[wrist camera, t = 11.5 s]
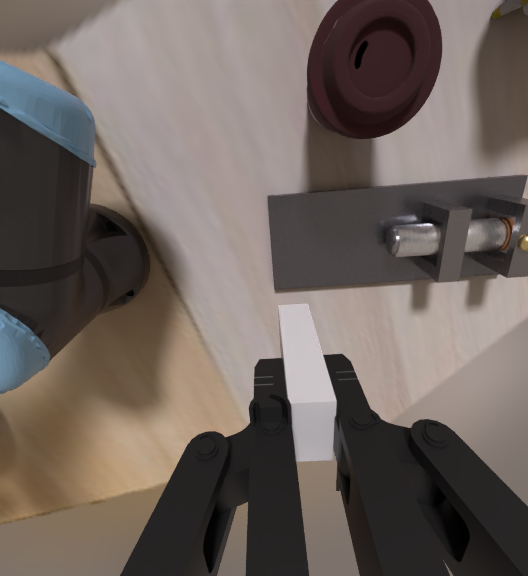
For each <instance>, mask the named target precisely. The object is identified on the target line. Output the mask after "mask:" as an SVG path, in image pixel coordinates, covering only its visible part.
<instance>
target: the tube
mask: <svg viewBox="0 0 528 576" xmlns="http://www.w3.org/2000/svg"><path fill="white" fill-rule="evenodd" d="M515 218H516V217H496V218H488V219H475V220H470V225H469V230H468V235H467V240H466V246H465V251H464V252H477V251H491V250H495V251H497V250H507V249H508V246H509V242H510V238H511V234H512V230H513V226H514V222H515ZM442 226H443V222H436V223H423V224H409V225H396V226H393V227H392V228H391V229H389V230H388V232H387V235H386V248H387V251H388V253H389V254H390V255H392V256H393V257H407V256H421V255H435V254H438V251H439V245H440V238H441V232H442Z"/></svg>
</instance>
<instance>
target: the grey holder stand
mask: <svg viewBox="0 0 528 576" xmlns="http://www.w3.org/2000/svg"><path fill="white" fill-rule="evenodd" d="M527 176H528V175H513V176H500V177H488V178H476V179H464V180H452V181H440V182H428V183H416V184H404V185H391V186H379V187H367V188H355V189H343V190H331V191H319V192H307V193H295V194H282V195H270V196H268V209H269V223H270V236H271V250H272V263H273V276H274V289H285V288H300V287H315V286H330V285H344V284H359V283H374V282H389V281H404V280H419V279H434V280H436V281H437V282H451V281H459V277H463V276H478V275H493V274H501V275H503V276H505V277H507V278H511V277H526V276H528V199H525V198H522V196H523V192H524V188H525V184H526V180H527ZM496 217H516V218H515V222H514V226H513V230H512V234H511V238H510V242H509V246H508V249H507V250H497V251H495V250H491V251H477V252H464V251H465V246H466V240H467V235H468V230H469V225H470V220H475V219H488V218H496ZM436 222H443V226H442V232H441V238H440V245H439V251H438V254H435V255H421V256H407V257H393V256H392V255H390V254H389V253H388V251H387V248H386V235H387V232H388V230H389V229H391V228H392V227H393V226H396V225H409V224H423V223H436Z"/></svg>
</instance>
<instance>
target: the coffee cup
mask: <svg viewBox="0 0 528 576" xmlns="http://www.w3.org/2000/svg"><path fill="white" fill-rule="evenodd" d="M441 57H442V36H441V29H440V25H439V21H438V18H437V16H436V14H435V12H434V10H433V8H432V6H431V4H430V3H429V1H428V0H338V1H337V2H336V3H335V4H334V5H333V6H332V7H331V9H330V10H329V11H328V12H327V14H326V15H325V17H324V18H323V20H322V22H321V24H320V26H319V28H318V30H317V32H316V35H315V37H314V40H313V43H312V46H311V49H310V53H309V58H308V65H307V83H308V84H307V100H308V106H309V110H310V112H311V114H312V116H313V118H314V119H315V120H316V122H317V123H318V124H320V125H321V126H323V127H324V128H327V129H329V130H331V131H333V132H337V133H339V134H341V135H343V136H346V137H349V138H354V139H369V138H376V137H380V136H384V135H386V134H389V133H391V132H393V131H395V130H397V129H399V128H400V127H402V126H403V125H404V124H406V123H407V122H408V121H409V120H410V119H411V118H413V117H414V116H415V115H416V113H417V112H418V111H419V110H420V109H421V107H422V106H423V105H424V103H425V102H426V100H427V98H428V97H429V95H430V93H431V91H432V89H433V87H434V85H435V82H436V79H437V76H438V73H439V70H440V63H441Z"/></svg>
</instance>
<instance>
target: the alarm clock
mask: <svg viewBox="0 0 528 576" xmlns="http://www.w3.org/2000/svg"><path fill="white" fill-rule="evenodd" d="M520 7H523V12H524V14H526V15H528V0H506V1H505V2H504V3H503V4H501V5H500V6H499V7H498V8H497V9H496V10H495V11H494V12H493V13H492V17H493V19H496V18H498V17H500V16H503V15H505V14H507V13H509V12H511V11H513V10H516V9H518V8H520Z"/></svg>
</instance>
